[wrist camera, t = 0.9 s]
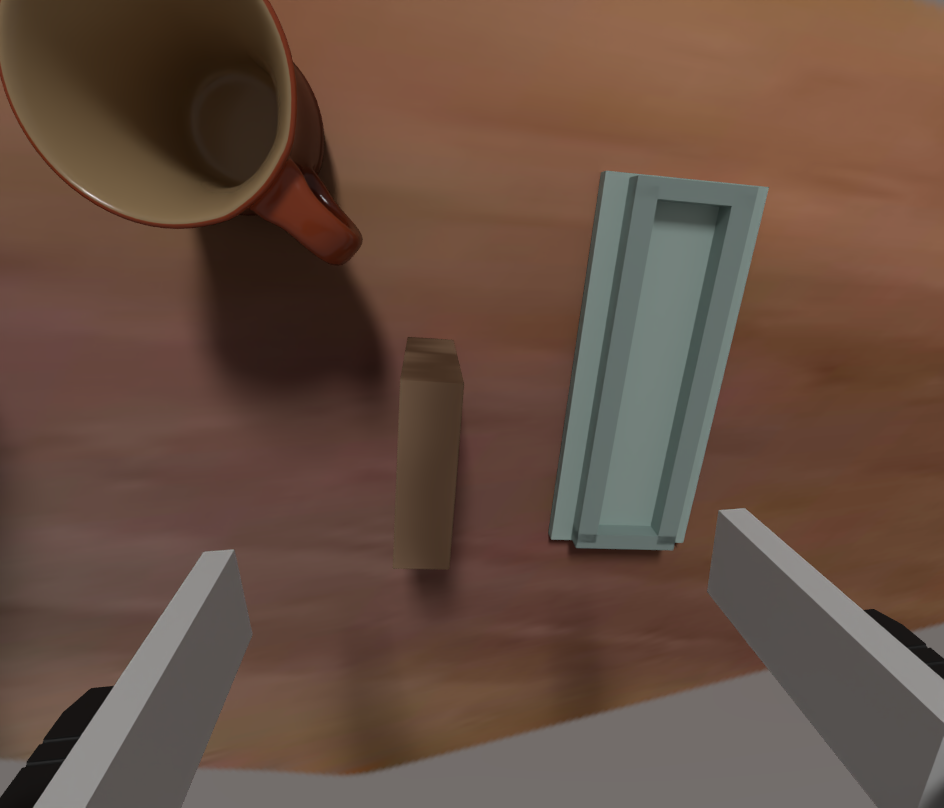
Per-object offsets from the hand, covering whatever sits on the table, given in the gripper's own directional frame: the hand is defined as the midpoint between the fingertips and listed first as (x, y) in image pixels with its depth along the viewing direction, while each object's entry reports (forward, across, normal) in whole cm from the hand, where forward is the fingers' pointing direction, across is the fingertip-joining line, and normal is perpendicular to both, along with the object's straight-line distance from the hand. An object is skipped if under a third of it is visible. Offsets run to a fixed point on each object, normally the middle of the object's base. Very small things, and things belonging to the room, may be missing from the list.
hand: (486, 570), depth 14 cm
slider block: (+18, -2, -2) cm, 18 cm away
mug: (+18, -8, +12) cm, 23 cm away
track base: (+17, +12, 0) cm, 21 cm away
